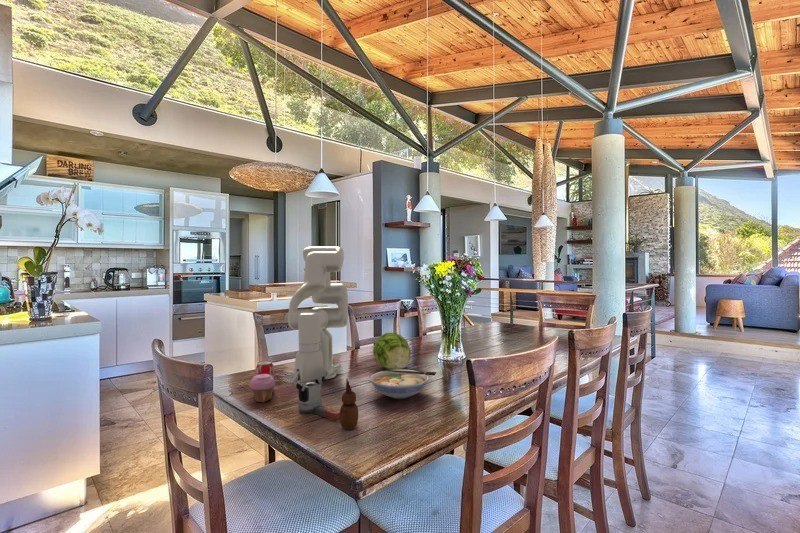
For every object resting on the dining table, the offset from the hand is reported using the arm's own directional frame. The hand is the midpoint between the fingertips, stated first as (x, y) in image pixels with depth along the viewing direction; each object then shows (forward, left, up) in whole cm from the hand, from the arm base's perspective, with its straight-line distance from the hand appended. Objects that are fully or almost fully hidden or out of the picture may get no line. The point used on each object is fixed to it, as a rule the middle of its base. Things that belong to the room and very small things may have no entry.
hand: (310, 398), depth 144 cm
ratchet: (0, +6, -4) cm, 7 cm away
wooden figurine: (+2, +22, -4) cm, 23 cm away
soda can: (-1, -30, -4) cm, 30 cm away
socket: (0, 0, -1) cm, 1 cm away
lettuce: (-59, -12, -4) cm, 60 cm away
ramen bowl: (-31, +15, -4) cm, 35 cm away
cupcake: (+5, -22, -4) cm, 23 cm away
